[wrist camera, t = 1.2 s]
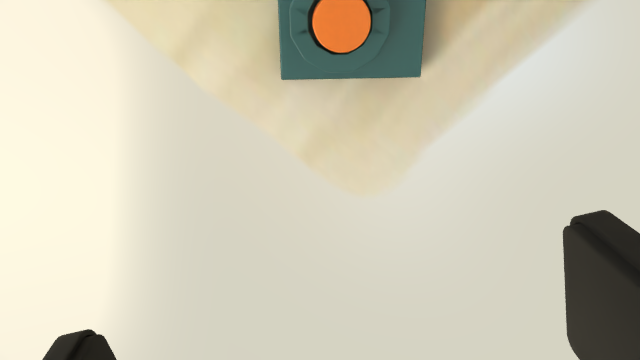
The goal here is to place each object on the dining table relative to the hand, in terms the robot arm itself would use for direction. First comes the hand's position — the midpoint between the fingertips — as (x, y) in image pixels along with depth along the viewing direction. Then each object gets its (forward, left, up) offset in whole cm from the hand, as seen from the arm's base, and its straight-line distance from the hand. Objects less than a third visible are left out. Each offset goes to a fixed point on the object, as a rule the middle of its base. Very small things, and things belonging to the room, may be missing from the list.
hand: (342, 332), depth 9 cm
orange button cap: (-4, +2, -25) cm, 25 cm away
